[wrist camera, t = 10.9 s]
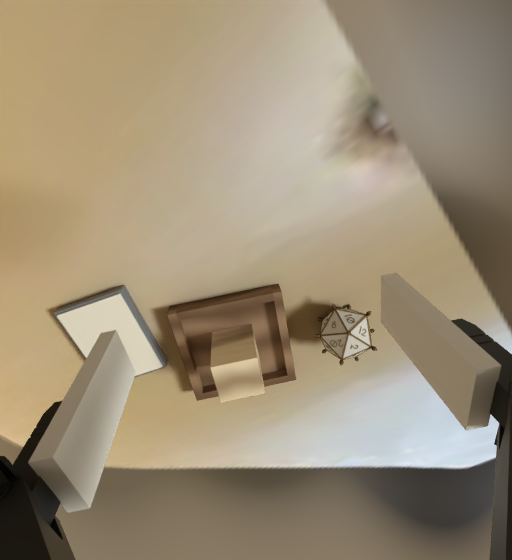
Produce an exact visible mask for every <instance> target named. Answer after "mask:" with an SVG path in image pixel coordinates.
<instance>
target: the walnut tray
mask: <svg viewBox="0 0 512 560" xmlns="http://www.w3.org/2000/svg"><path fill="white" fill-rule="evenodd" d="M167 316H168V319H169V322H170V325H171V328H172V331H173V333H174V336H175V339H176V342H177V345H178V348H179V351H180V353H181V356H182V359H183V362H184V365H185V368H186V371H187V374H188V376H189V379H190V382H191V385H192V388H193V391H194V394H195V396H196V399H197V401H198V400H202V399H207V398H212V397H217V396H219V394H218V391H217V388H216V384H215V381H214V378H213V375H212V371H211V368H210V364H211V344H212V332H215V331H219V330H224V329H229V328H234V327H239V326H244V325H248V324H252V327H253V331H254V336H255V341H256V345H257V350H258V354H259V360H260V366H261V372H262V378H263V384H264V386H269V385H274V384H279V383H283V382H288V381H293V380H296V376H295V370H294V364H293V358H292V352H291V346H290V340H289V334H288V328H287V322H286V316H285V310H284V304H283V298H282V292H281V289H280V286H279V284H276V285H271V286H266V287H261V288H256V289H251V290H247V291H242V292H237V293H232V294H227V295H222V296H218V297H213V298H208V299H203V300H198V301H193V302H189V303H184V304H179V305H174V306H170V307H169V311H168V314H167Z"/></svg>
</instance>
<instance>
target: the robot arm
mask: <svg viewBox="0 0 512 560" xmlns="http://www.w3.org/2000/svg"><path fill="white" fill-rule="evenodd" d="M381 323H382V324H383V325H384V327H385V328H386V329H387V330H388V332H389V333H390V334H391V335H392V337H393V338H394V339H395V341H396V342H397V343H398V344H399V346H400V347H401V348H402V349H403V351H404V352H405V353H406V355H407V356H408V357H409V358H410V360H411V361H412V362H413V363H414V365H415V366H416V367H417V369H418V370H419V371H420V372H421V374H422V375H423V376H424V378H425V379H426V380H427V381H428V383H429V384H430V385H431V386H432V388H433V389H434V390H435V392H436V393H437V394H438V395H439V397H440V398H441V399H442V400H443V402H444V403H445V404H446V406H447V407H448V408H449V409H450V411H451V412H452V413H453V414H454V416H455V417H456V418H457V420H458V421H459V422H460V423H461V425H462V426H463V427H464V428H465V430H471V429H476V428H480V427H485V426H488V423H489V419H490V414H491V415H492V416H493V417H494V418H495V419H496V420H497V421H498V422H499V427H498V431H497V435H496V439H495V443H494V444H495V445H497V452H496V469H495V484H494V501H493V517H492V532H491V548H490V560H512V354H510V353H509V352H508V351H507V350H505V349H504V348H503V347H502V346H500V345H499V344H498V343H497V342H494V340H493V339H492V338H491V337H489V336H488V335H486V334H485V333H484V332H483V331H482V330H481V329H480V328H478V327H477V326H476V325H474V324H472V323H470V322H468V321H465V320H463V319H457V320H452V321H450V320H449V319H448V318H447V317H446V316H445V315H444V314H443V313H441V312H440V311H439V310H438V309H437V308H436V307H435V306H433V305H432V304H431V303H430V302H429V301H428V300H427V299H426V298H424V297H423V296H422V295H421V294H420V293H419V292H418V291H416V290H415V289H414V288H413V287H412V286H411V285H410V284H409V283H407V282H406V281H405V280H404V279H403V278H402V277H401V276H399V275H398V274H397V273H393V274H388V275H384V276H381ZM135 373H136V371H135V369H134V367H133V365H132V363H131V361H130V358H129V356H128V354H127V352H126V350H125V348H124V345H123V343H122V341H121V339H120V337H119V335H118V332H117V330H113V331H108V332H103V333H100V335H99V337H98V339H97V341H96V342H95V344H94V346H93V348H92V349H91V351H90V353H89V355H88V357H87V358H86V360H85V362H84V364H83V365H82V367H81V369H80V371H79V373H78V374H77V376H76V378H75V380H74V382H73V383H72V385H71V387H70V389H69V390H68V392H67V394H66V396H65V398H64V399H63V401H60V402H55V403H54V404H53V405H52V406H51V407H50V408H49V409H48V410H47V411H46V412H45V413H44V414H43V416H42V417H41V419H40V421H39V422H38V424H37V427H36V428H35V429H34V431H33V432H32V434H31V438H29V439H28V441H27V442H26V444H25V446H24V447H23V449H22V451H21V452H20V454H19V455H18V457H17V459H16V460H15V462H14V464H13V465H12V464H11V462H10V461H9V460H8V459H7V458H6V457H5V456H0V560H75V558H74V555H73V552H72V550H71V548H70V545H69V543H68V540H67V538H66V536H65V533H64V531H63V528H62V526H61V524H60V521H59V520H58V518H57V517H56V516H55V514H56V512H57V509H58V507H59V505H60V503H61V505H62V506H63V507H64V508H65V510H66V511H67V512H68V513H69V512H73V511H78V510H83V509H88V508H90V507H91V504H92V501H93V498H94V494H95V492H96V489H97V486H98V483H99V480H100V477H101V474H102V471H103V468H104V465H105V462H106V459H107V456H108V453H109V450H110V447H111V444H112V441H113V438H114V435H115V432H116V430H117V427H118V424H119V421H120V418H121V415H122V412H123V409H124V406H125V403H126V400H127V397H128V394H129V391H130V388H131V385H132V382H133V379H134V376H135Z"/></svg>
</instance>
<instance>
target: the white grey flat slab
mask: <svg viewBox="0 0 512 560" xmlns="http://www.w3.org/2000/svg"><path fill="white" fill-rule="evenodd" d="M53 314H54V316H55V317H56V318H57V320H58V321H59V323H60V324H61V325H62V327H63V328H64V330H65V331H66V332H67V334H68V335H69V337H70V338H71V339H72V341H73V342H74V344H75V345H76V346H77V348H78V349H79V351H80V352H81V353H82V355H83V356H84V358H85V359H86V358H87V357H88V355H89V353H90V351H91V349H92V348H93V346H94V344H95V342H96V341H97V339H98V337H99V335H100V333H103V332H108V331H113V330H117V332H118V335H119V337H120V339H121V341H122V343H123V345H124V348H125V350H126V352H127V354H128V356H129V358H130V361H131V363H132V365H133V367H134V369H135V371H136V373H135V376H134V377H137V376H140V375H143V374H146V373H149V372H152V371H155V370H158V369H161V368H164V367H166V366H167V362H168V361H167V359H166V357H165V355H164V354H163V352H162V350H161V348H160V347H159V345H158V343H157V341H156V340H155V338H154V336H153V334H152V333H151V331H150V329H149V327H148V326H147V324H146V322H145V321H144V319H143V317H142V315H141V314H140V312H139V310H138V308H137V307H136V305H135V303H134V301H133V300H132V298H131V296H130V294H129V293H128V291H127V289H126V287H125V286H124V285H123V286H120V287H117V288H114V289H112V290H109V291H106V292H103V293H100V294H97V295H94V296H91V297H89V298H86V299H83V300H80V301H77V302H74V303H71V304H69V305H66V306H63V307H60V308H58V309H57V310H56V311H55V312H54V313H53Z"/></svg>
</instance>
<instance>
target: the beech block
mask: <svg viewBox="0 0 512 560" xmlns="http://www.w3.org/2000/svg"><path fill="white" fill-rule="evenodd" d="M210 368H211V371H212V375H213V378H214V381H215V384H216V388H217V391H218V394H219V397H220V401H221V402H225V401H230V400H235V399H239V398H244V397H249V396H254V395H258V394H263V393H265V390H264V384H263V378H262V372H261V366H260V360H259V354H258V350H257V345H256V341H255V336H254V331H253V327H252V324H248V325H244V326H239V327H234V328H229V329H224V330H219V331H215V332H212V344H211V364H210Z"/></svg>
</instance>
